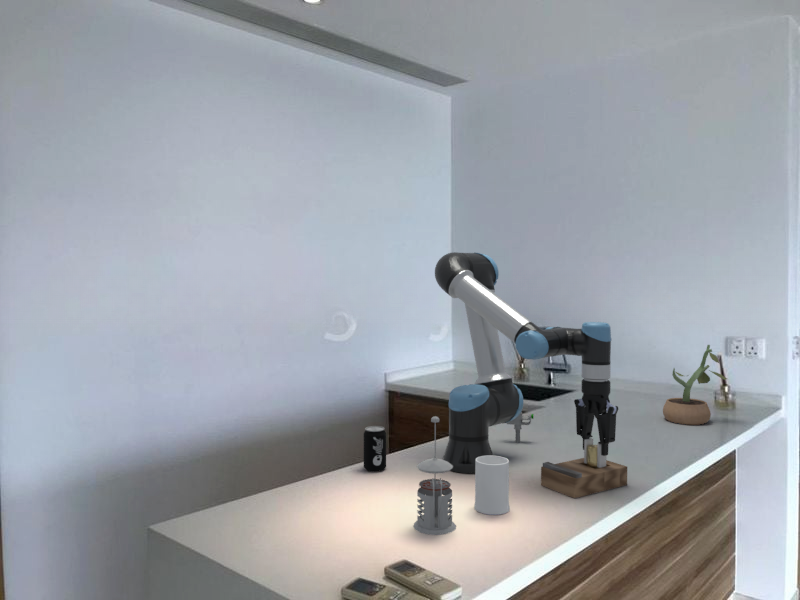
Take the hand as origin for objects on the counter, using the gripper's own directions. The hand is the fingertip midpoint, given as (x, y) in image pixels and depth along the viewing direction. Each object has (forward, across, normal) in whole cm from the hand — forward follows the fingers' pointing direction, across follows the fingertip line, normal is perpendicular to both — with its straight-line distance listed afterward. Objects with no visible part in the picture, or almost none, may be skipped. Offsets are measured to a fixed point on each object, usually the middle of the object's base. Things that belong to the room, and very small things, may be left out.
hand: (595, 464), depth 178 cm
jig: (+5, 0, +4) cm, 6 cm away
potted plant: (+5, +30, -89) cm, 94 cm away
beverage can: (+5, +42, +45) cm, 62 cm away
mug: (+5, 0, +35) cm, 35 cm away
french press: (+5, -3, +55) cm, 55 cm away
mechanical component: (+5, +43, -11) cm, 45 cm away
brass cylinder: (+5, 0, 0) cm, 5 cm away
